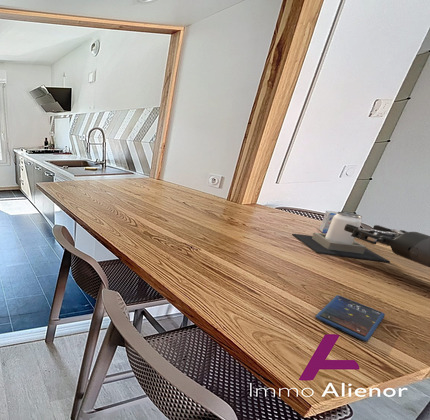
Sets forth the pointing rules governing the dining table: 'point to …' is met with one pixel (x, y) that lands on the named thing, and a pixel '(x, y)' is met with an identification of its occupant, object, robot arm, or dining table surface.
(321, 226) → the medicine box
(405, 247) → the robot arm
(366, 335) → the smartphone
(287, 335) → the dining table surface
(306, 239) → the pad
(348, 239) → the can
